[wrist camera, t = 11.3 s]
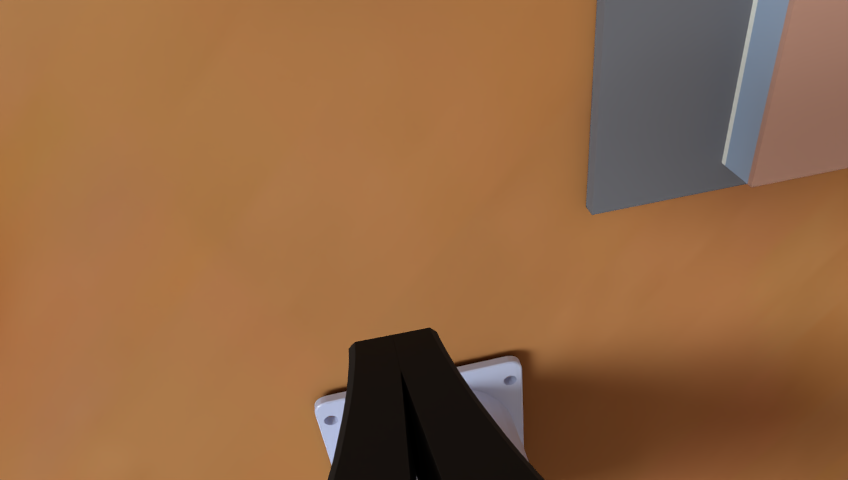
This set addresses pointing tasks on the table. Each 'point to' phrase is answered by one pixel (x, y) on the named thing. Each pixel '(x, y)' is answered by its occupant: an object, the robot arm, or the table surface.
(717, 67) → the grey rectangular slab
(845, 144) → the card deck
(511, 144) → the table surface
